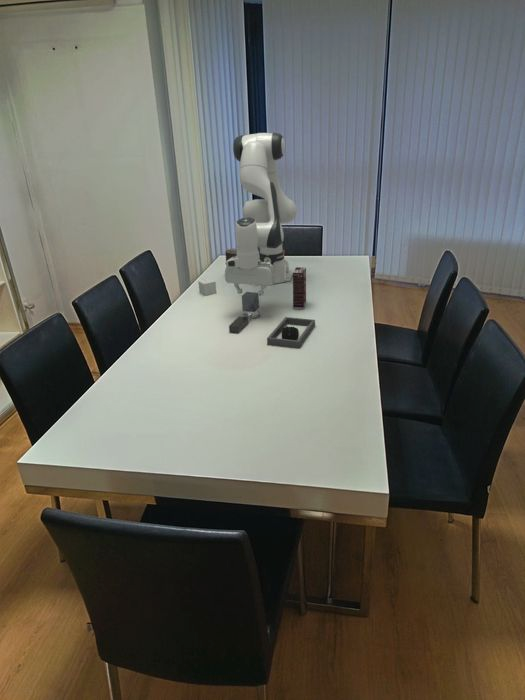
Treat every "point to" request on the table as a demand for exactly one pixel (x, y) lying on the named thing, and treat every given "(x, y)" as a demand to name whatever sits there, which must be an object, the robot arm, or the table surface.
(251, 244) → the robot arm
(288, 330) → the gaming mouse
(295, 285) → the supplement box
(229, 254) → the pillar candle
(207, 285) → the light grey cube
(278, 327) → the gray rectangular frame
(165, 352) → the table surface
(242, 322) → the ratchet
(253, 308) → the blue gray block
